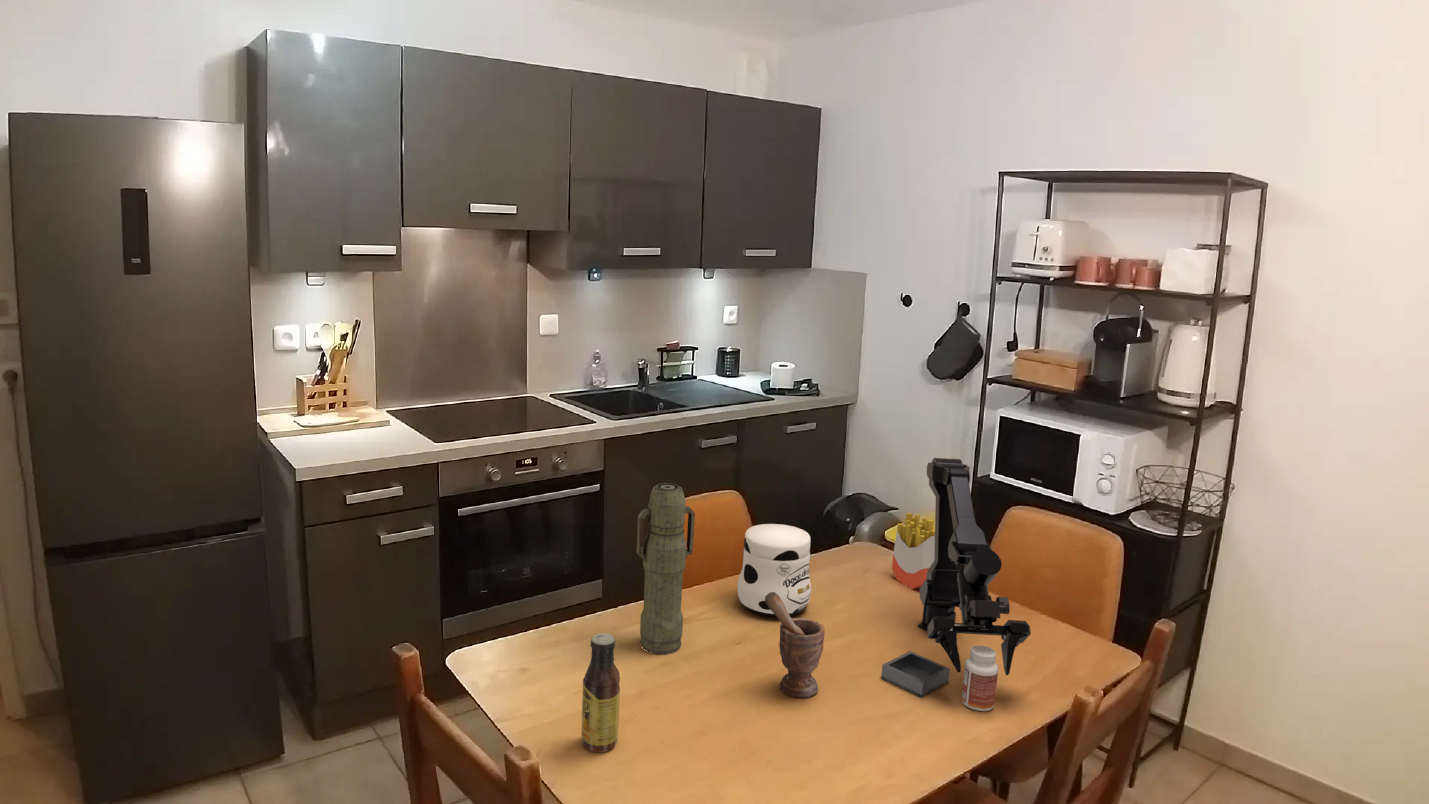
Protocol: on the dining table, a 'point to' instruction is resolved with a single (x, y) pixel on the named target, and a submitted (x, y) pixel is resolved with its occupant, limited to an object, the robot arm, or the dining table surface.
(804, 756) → the dining table surface
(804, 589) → the milk container
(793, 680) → the mortar and pestle
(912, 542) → the french fries container
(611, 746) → the sauce bottle
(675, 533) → the thermos
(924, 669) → the gray open box
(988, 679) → the pill bottle
